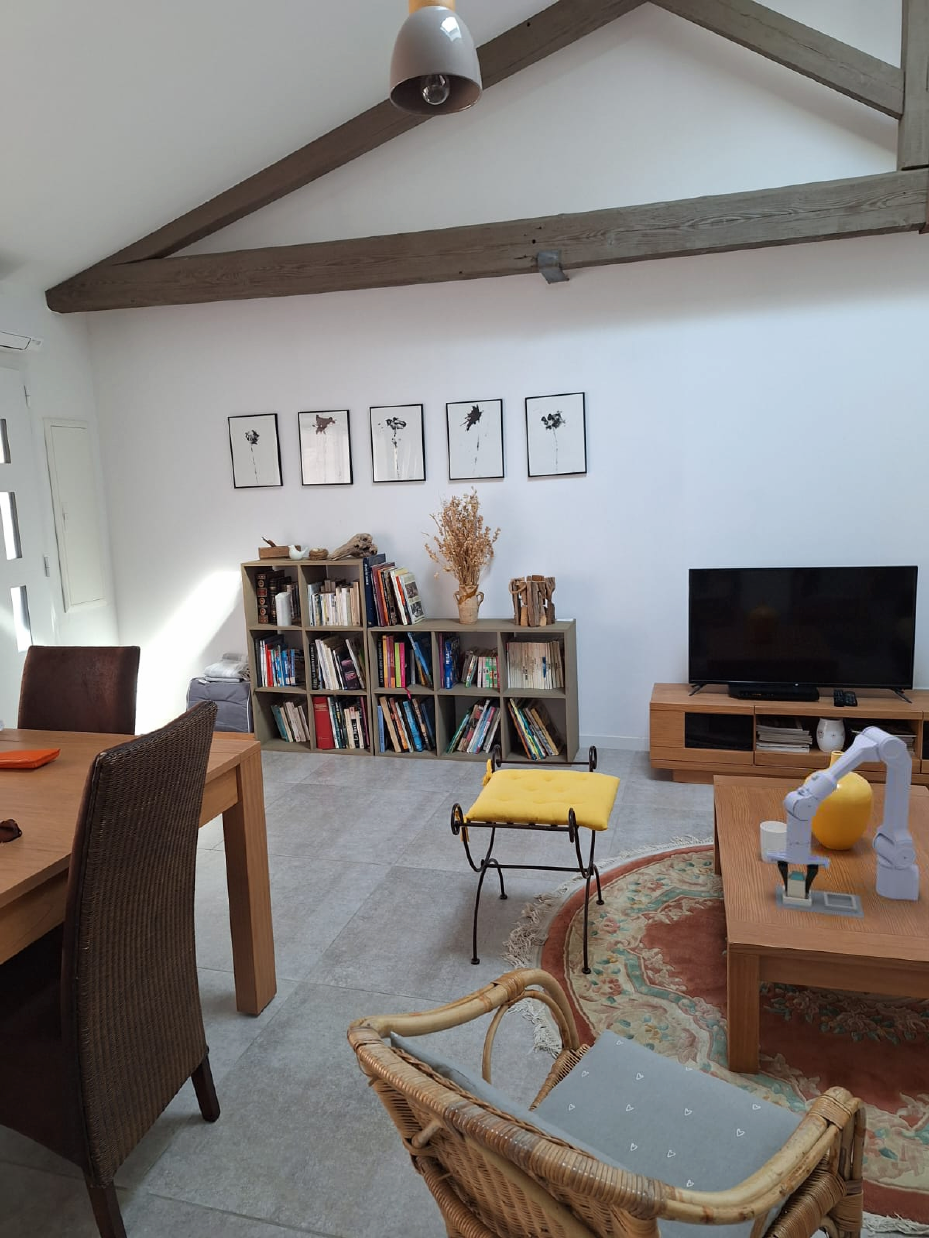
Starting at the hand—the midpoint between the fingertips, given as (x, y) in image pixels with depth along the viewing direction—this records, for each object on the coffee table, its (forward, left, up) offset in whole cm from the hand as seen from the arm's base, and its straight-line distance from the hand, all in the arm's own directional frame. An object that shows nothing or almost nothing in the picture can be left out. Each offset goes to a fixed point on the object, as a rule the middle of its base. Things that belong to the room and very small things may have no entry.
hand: (796, 890), depth 213 cm
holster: (-10, 0, -2) cm, 10 cm away
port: (0, 0, -3) cm, 3 cm away
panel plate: (-5, 0, -3) cm, 6 cm away
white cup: (+5, -24, -3) cm, 25 cm away
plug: (0, 0, -1) cm, 1 cm away
